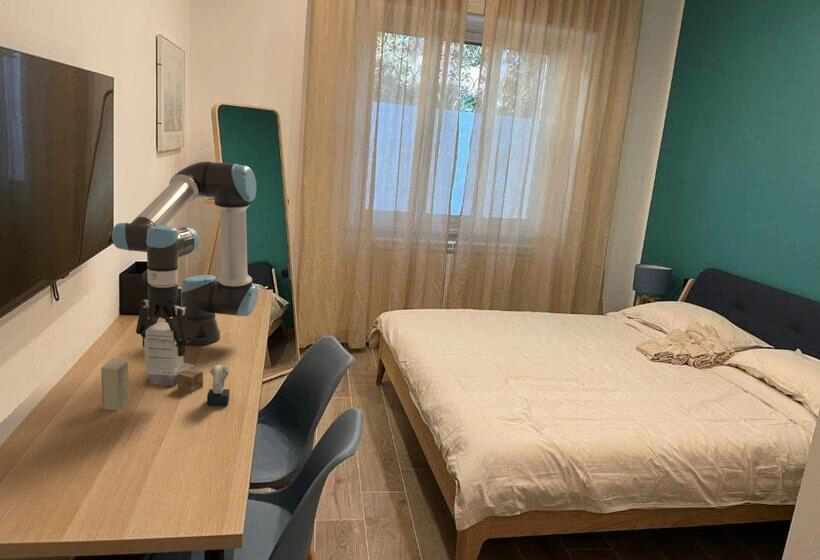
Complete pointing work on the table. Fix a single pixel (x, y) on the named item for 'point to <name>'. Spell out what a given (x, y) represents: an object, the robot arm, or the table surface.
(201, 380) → the walnut cube
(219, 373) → the watch
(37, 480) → the table surface
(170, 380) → the stone block
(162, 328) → the supplement box
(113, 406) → the skincare box
